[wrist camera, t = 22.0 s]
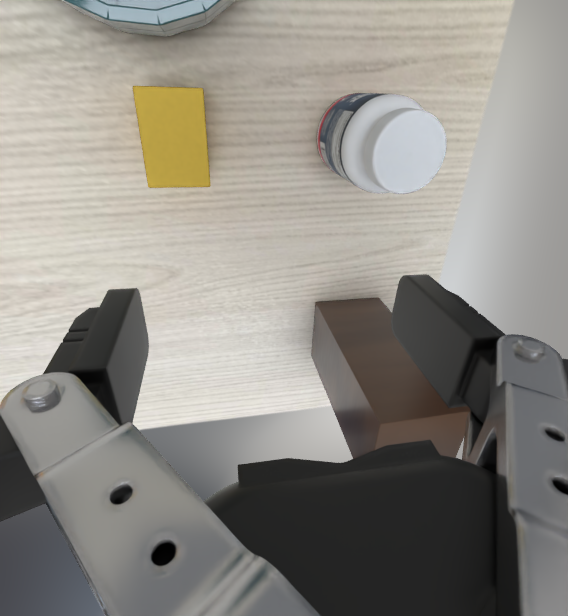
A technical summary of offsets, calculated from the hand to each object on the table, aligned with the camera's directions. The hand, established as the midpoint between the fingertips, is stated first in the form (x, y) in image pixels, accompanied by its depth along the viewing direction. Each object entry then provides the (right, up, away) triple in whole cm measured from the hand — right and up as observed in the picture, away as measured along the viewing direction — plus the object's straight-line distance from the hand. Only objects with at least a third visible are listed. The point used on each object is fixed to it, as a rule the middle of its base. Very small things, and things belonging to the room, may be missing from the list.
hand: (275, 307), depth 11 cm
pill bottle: (+5, +12, +15) cm, 20 cm away
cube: (-7, +11, +12) cm, 18 cm away
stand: (+6, -2, +23) cm, 24 cm away
